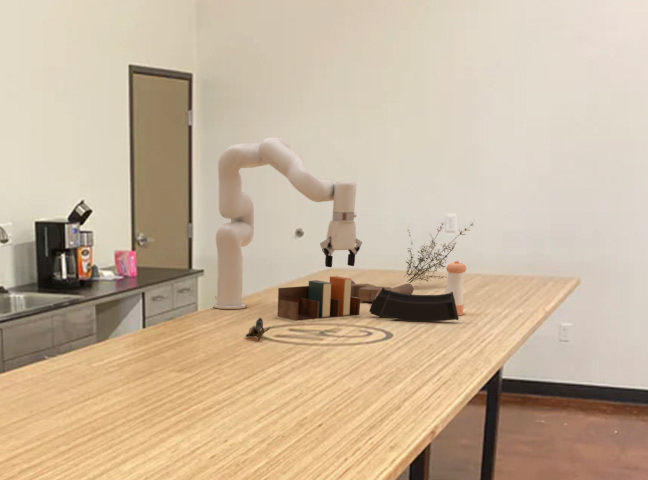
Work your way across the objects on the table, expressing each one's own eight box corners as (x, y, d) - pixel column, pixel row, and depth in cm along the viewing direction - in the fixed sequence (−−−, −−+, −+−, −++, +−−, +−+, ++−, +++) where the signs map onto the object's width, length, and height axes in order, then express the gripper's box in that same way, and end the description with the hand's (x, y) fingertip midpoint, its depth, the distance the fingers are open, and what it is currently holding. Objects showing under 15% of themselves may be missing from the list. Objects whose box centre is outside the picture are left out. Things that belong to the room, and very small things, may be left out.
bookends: (393, 305, 412) (419, 296, 436) (394, 290, 411) (420, 282, 434) (310, 298, 430) (339, 290, 454) (311, 285, 428) (339, 277, 452)
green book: (307, 314, 387) (308, 280, 383) (315, 313, 388) (316, 280, 384) (321, 317, 379) (323, 283, 375) (330, 316, 380) (331, 282, 376)
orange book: (328, 312, 390) (329, 276, 386) (334, 311, 391) (336, 276, 387) (342, 315, 382) (344, 279, 378) (349, 315, 384) (351, 278, 380)
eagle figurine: (275, 337, 339) (267, 327, 346) (265, 319, 335) (257, 310, 343) (255, 350, 339) (247, 340, 347) (245, 333, 336) (237, 323, 344)
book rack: (277, 318, 383) (278, 287, 380) (339, 312, 394) (341, 283, 391) (295, 322, 373) (297, 291, 370) (359, 317, 384) (360, 286, 381)
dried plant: (428, 250, 436) (481, 199, 458) (366, 252, 459) (419, 203, 480) (445, 315, 452) (495, 263, 473) (383, 314, 474) (434, 264, 496)
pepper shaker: (466, 313, 390) (471, 260, 384) (456, 316, 385) (461, 262, 379) (448, 311, 395) (452, 259, 389) (438, 314, 390) (442, 260, 384)
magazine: (467, 296, 368) (385, 268, 375) (467, 297, 365) (384, 269, 372) (449, 342, 375) (368, 314, 381) (448, 344, 372) (367, 315, 378)
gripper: (356, 215, 383) (353, 264, 389) (316, 216, 376) (313, 266, 382) (369, 217, 377) (365, 266, 382) (329, 218, 370) (325, 268, 375)
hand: (339, 266), depth 382 cm, fingers open, 9 cm apart
